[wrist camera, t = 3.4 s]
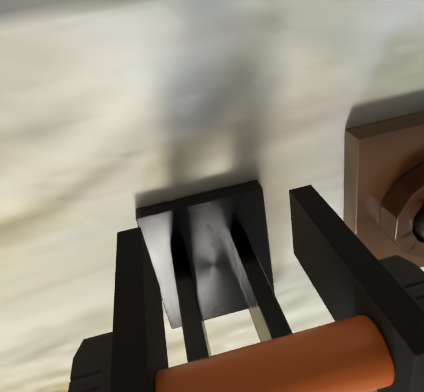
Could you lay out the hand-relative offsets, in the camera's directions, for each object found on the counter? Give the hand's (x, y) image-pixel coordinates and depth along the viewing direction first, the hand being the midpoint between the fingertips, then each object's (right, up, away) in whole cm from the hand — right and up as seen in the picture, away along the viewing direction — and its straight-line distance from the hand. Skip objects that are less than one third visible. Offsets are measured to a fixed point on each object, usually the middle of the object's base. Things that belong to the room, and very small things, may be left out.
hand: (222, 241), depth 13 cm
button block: (+14, +2, +15) cm, 20 cm away
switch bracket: (-1, -3, +14) cm, 14 cm away
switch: (+1, -5, +1) cm, 5 cm away
